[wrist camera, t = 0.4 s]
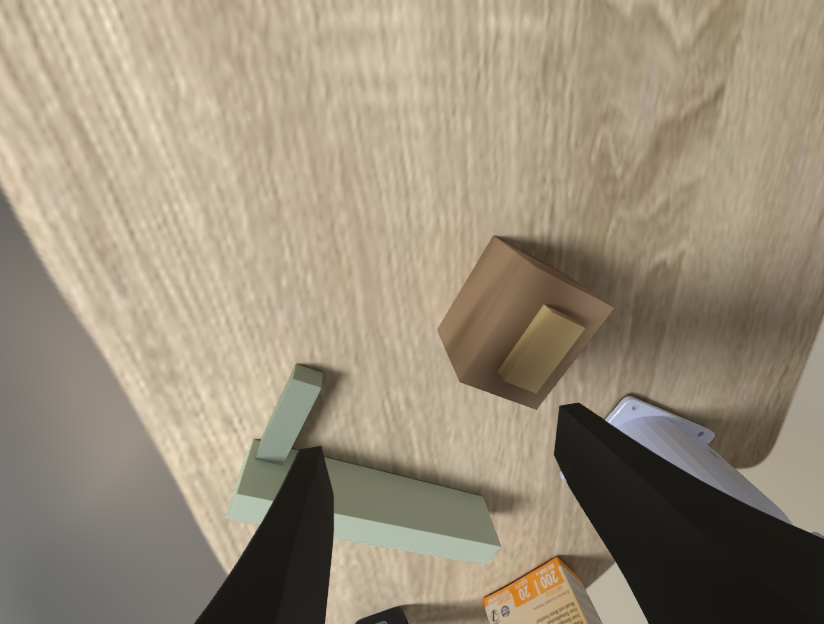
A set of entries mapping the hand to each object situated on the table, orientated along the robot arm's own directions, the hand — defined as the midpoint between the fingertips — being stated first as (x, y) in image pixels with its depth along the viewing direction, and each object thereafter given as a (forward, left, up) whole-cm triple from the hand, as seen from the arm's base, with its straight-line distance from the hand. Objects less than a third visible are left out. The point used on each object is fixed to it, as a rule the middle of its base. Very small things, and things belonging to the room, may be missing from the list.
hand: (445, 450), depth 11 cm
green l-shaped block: (-4, +12, -10) cm, 17 cm away
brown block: (-5, -3, -10) cm, 12 cm away
